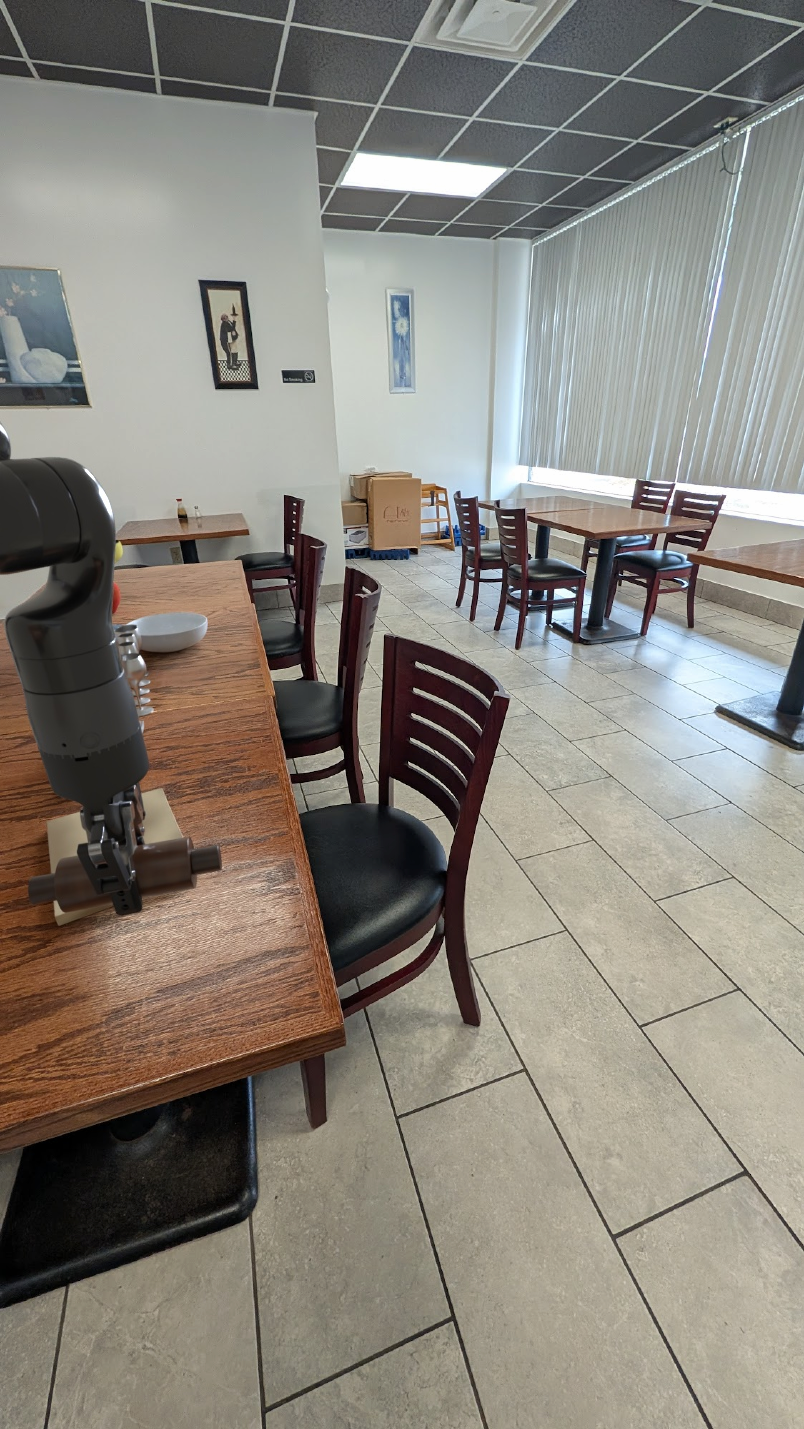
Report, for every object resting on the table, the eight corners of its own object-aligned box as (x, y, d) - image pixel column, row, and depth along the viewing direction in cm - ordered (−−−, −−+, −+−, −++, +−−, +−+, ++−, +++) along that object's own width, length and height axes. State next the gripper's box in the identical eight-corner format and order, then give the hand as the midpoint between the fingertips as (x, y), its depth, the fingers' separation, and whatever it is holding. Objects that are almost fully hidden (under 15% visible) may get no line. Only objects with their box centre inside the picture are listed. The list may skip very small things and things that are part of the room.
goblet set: (126, 674, 141) (112, 620, 135) (151, 669, 143) (139, 617, 137) (126, 720, 118) (110, 658, 112) (156, 714, 120) (142, 653, 114)
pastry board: (58, 926, 68) (54, 916, 67) (49, 829, 85) (46, 821, 85) (197, 875, 75) (195, 865, 75) (163, 795, 92) (161, 787, 92)
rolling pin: (34, 930, 51) (16, 889, 49) (48, 891, 55) (32, 852, 53) (224, 894, 55) (216, 854, 52) (223, 860, 59) (216, 821, 56)
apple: (92, 617, 187) (83, 584, 182) (102, 610, 194) (93, 578, 190) (119, 616, 187) (111, 582, 183) (128, 609, 195) (120, 576, 190)
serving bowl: (171, 665, 145) (165, 638, 142) (112, 654, 154) (105, 629, 151) (227, 640, 162) (223, 615, 159) (171, 631, 171) (166, 608, 168)
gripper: (59, 699, 53) (104, 850, 60) (8, 782, 40) (73, 959, 48) (148, 689, 54) (181, 837, 62) (125, 765, 42) (170, 939, 49)
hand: (134, 889), depth 55 cm, fingers closed on rolling pin, 5 cm apart
